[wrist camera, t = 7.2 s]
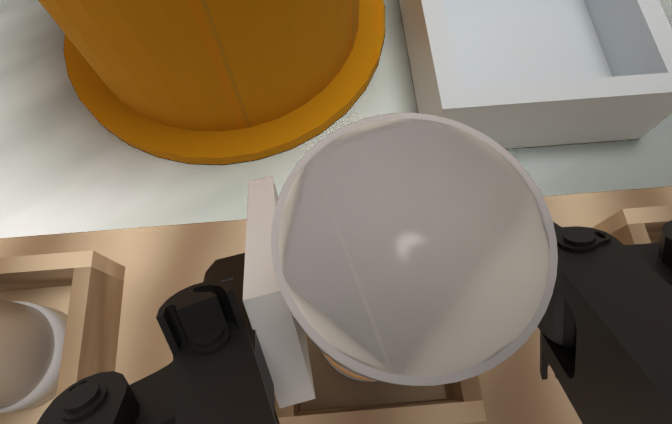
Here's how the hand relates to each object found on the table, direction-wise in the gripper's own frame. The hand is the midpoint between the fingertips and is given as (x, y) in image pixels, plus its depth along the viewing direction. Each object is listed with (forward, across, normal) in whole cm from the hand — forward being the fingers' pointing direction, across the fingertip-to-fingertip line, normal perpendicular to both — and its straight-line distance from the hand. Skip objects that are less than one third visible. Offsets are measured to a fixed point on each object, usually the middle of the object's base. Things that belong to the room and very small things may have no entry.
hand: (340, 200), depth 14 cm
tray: (+10, +12, +1) cm, 16 cm away
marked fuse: (0, 0, -6) cm, 6 cm away
